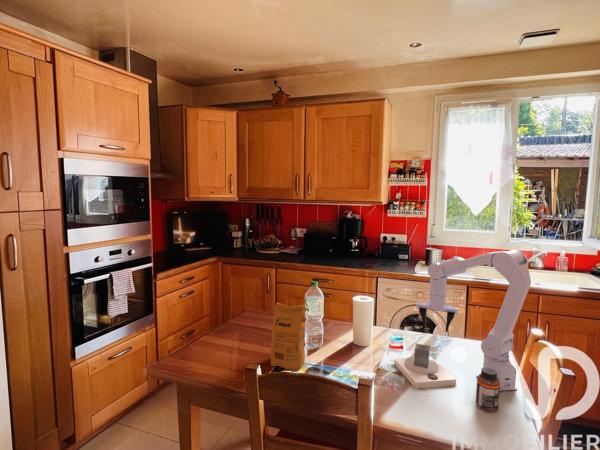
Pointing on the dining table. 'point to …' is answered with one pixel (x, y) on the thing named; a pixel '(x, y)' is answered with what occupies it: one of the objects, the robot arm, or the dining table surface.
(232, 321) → the dining table surface
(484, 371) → the supplement bottle
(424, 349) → the steel spacer
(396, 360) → the kitchen scale
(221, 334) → the dining table surface
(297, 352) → the coffee package
